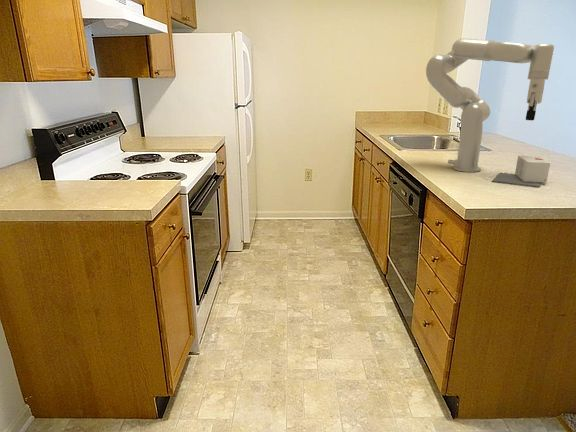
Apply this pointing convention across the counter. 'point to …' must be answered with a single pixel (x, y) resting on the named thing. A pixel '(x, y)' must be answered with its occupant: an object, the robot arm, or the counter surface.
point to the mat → (513, 180)
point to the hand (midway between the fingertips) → (529, 120)
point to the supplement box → (532, 169)
